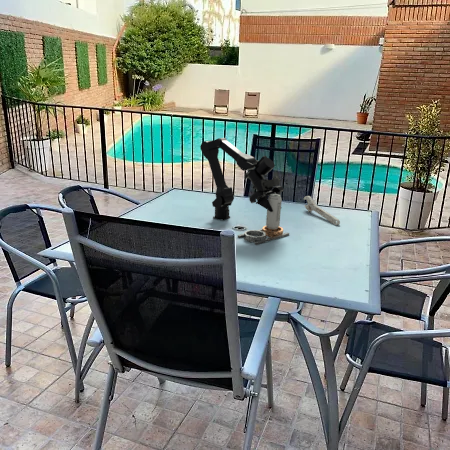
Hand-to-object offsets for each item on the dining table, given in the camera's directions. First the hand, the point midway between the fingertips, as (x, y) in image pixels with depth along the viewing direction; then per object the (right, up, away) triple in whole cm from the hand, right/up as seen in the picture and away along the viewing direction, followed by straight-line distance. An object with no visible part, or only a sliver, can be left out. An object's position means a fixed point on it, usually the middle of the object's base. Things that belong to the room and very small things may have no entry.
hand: (276, 210), depth 189 cm
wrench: (+27, -3, +33) cm, 42 cm away
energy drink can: (-1, -8, +4) cm, 9 cm away
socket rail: (-6, -12, +1) cm, 13 cm away
